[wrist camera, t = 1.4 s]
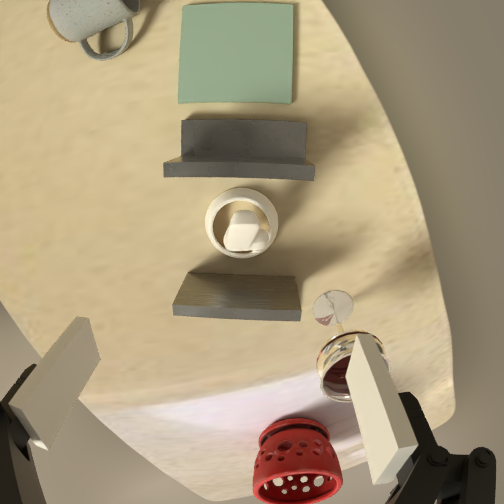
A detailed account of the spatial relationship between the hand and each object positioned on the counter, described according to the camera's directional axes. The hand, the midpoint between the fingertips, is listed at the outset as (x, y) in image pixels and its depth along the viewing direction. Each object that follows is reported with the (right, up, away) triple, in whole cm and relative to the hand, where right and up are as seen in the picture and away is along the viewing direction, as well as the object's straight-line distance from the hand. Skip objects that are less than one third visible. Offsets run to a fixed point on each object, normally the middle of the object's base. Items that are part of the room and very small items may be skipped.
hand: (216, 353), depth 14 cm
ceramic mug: (-14, +30, +11) cm, 35 cm away
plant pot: (+9, -25, +32) cm, 41 cm away
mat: (0, +24, +12) cm, 27 cm away
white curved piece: (+1, +8, +19) cm, 21 cm away
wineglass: (+11, -2, +23) cm, 25 cm away
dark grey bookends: (+1, +8, +19) cm, 20 cm away
